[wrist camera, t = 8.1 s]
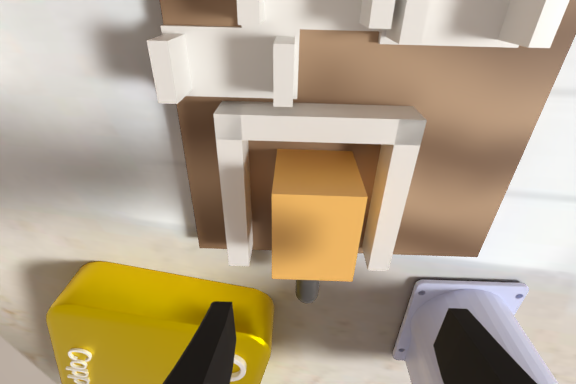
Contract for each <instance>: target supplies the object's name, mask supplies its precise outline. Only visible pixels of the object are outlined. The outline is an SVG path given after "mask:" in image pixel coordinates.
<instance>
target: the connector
mask: <svg viewBox="0 0 576 384" xmlns="http://www.w3.org/2000/svg"><path fill="white" fill-rule="evenodd" d="M367 198H368V196H367V193H366V190H365V187H364V184H363V181H362V178H361V175H360V173H359V170H358V167H357V164H356V161H355V158H354V155H353V152H352V151H331V150H299V149H277V155H276V163H275V171H274V179H273V187H272V279H294V280H296V296H297V298H298V299H299V300H300V301H301V302H303V303H311V302H313V301H314V300H315V299H316V298H317V296H318V290H319V281H320V280H323V281H351V282H352V281H353V276H354V270H355V265H356V259H357V254H358V248H359V243H360V237H361V232H362V226H363V221H364V215H365V210H366V204H367Z"/></svg>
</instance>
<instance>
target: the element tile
mask: <svg viewBox="0 0 576 384" xmlns="http://www.w3.org/2000/svg"><path fill="white" fill-rule="evenodd" d="M214 301H221V302H232V305H233V314H234V322H235V331H236V347H235V355H234V363H233V370H232V375H231V380H230V384H260V383H261V380H262V377H263V375H264V372H265V369H266V366H267V364H268V361H269V358H270V355H271V345H272V331H273V317H274V305H273V301H272V299H271V298H270V297H269V296H268V295H267V294H265V293H263V292H261V291H259V290H257V289H254V288H248V287H243V286H237V285H232V284H226V283H221V282H215V281H210V280H204V279H199V278H193V277H188V276H182V275H177V274H171V273H166V272H160V271H155V270H149V269H144V268H138V267H133V266H127V265H122V264H116V263H111V262H103V261H96V262H89V263H87V264H85V265H83V266H82V267H81V268H80V269H79V271H78V272H77V273H76V274H75V276H74V277H73V278H72V280H71V281H70V282H69V283H68V285H67V286H66V287H65V289H64V290H63V291H62V292H61V294H60V295H59V296H58V298H57V299H56V300H55V302H54V303H53V304H52V305H51V307H50V308H49V310H48V312H47V314H46V322H47V326H48V330H49V334H50V338H51V342H52V346H53V350H54V354H55V358H56V362H57V366H58V370H59V374H60V378H61V382H62V384H163V382H164V381H165V379H166V378H167V376H168V375H169V374H170V372H171V371H172V369H173V368H174V366H175V365H176V363H177V362H178V360H179V358H180V357H181V355H182V354H183V352H184V351H185V349H186V347H187V346H188V344H189V343H190V341H191V339H192V338H193V336H194V334H195V333H196V331H197V329H198V327H199V326H200V324H201V322H202V320H203V318H204V317H205V315H206V313H207V311H208V309H209V307H210V305H211V303H212V302H214Z"/></svg>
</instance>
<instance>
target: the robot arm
mask: <svg viewBox="0 0 576 384" xmlns="http://www.w3.org/2000/svg"><path fill="white" fill-rule="evenodd" d="M528 291H529V288H528V286H527V285H526V284H525V283H511V282H481V281H451V280H419V281H417V282H416V283H415V285H414V288H413V292H412V295H411V298H410V301H409V304H408V307H407V310H406V313H405V316H404V319H403V322H402V325H401V328H400V331H399V335H398V338H397V341H396V344H395V347H394V350H393V353H392V354H393V358H394V359H396V360H405V362H406V365H407V369H408V372H409V376H410V379H411V382H412V384H559V383H558V382H557V380H556V379H555V377H554V376H553V374H552V373H551V371H550V370H549V368H548V367H547V365H546V364H545V362H544V361H543V359H542V358H541V356H540V355H539V353H538V352H537V350H536V349H535V347H534V345H533V344H532V342H531V341H530V339H529V338H528V336H527V335H526V333H525V332H524V330H523V329H522V327H521V326H520V324H519V323H518V321H517V320H516V318H515V317H514V315H515V313H516V311H517V310H518V308H519V306H520V305H521V303H522V301H523V300H524V298H525V296H526V295H527V293H528ZM235 347H236V331H235V322H234V314H233V305H232V302H221V301H214V302H212V303H211V305H210V307H209V309H208V311H207V313H206V315H205V317H204V318H203V320H202V322H201V324H200V326H199V327H198V329H197V331H196V333H195V334H194V336H193V338H192V339H191V341H190V343H189V344H188V346H187V347H186V349H185V351H184V352H183V354H182V355H181V357H180V358H179V360H178V362H177V363H176V365H175V366H174V368H173V369H172V371H171V372H170V374H169V375H168V376H167V378H166V379H165V381H164V382H163V384H230V380H231V375H232V370H233V363H234V355H235Z"/></svg>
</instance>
